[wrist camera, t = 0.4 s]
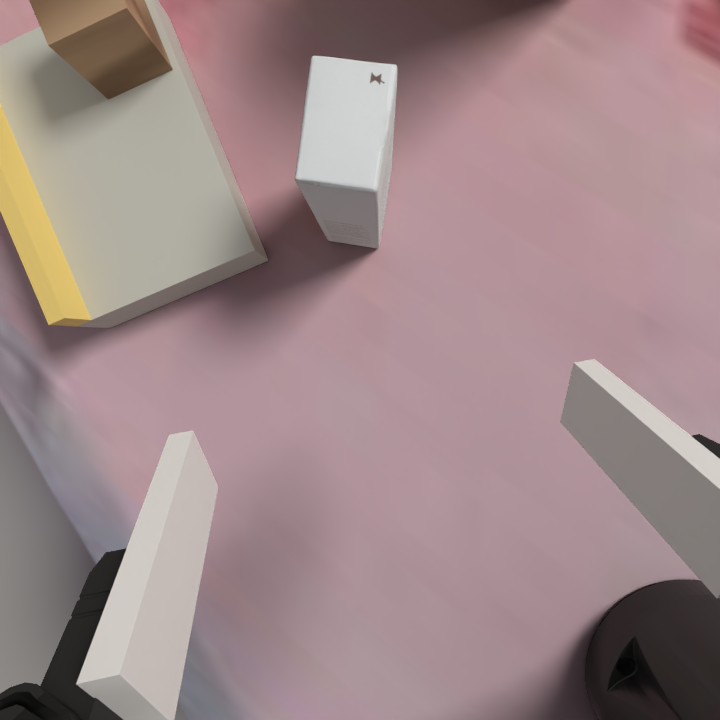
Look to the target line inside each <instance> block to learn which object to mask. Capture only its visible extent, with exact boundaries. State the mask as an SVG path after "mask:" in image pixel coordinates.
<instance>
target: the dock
mask: <svg viewBox="0 0 720 720" xmlns="http://www.w3.org/2000/svg"><path fill="white" fill-rule="evenodd" d="M145 2H146V5H147V7H148V10H149V12H150V15H151V17H152V19H153V22H154V24H155V27H156V29H157V32H158V34H159V37H160V39H161V41H162V44H163V46H164V49H165V51H166V54H167V56H168V59H169V61H170V63H171V66H172V68H173V70H171V71H169V72H167V73H165V74H163V75H161V76H158V77H156V78H154V79H152V80H150V81H148V82H146V83H143V84H141V85H139V86H137V87H135V88H133V89H130V90H128V91H126V92H124V93H122V94H120V95H118V96H115V97H113V98H111V99H109V100H108V99H107V98H106V97H105V96H104V95H103V94H102V93H100V92H99V91H98V90H97V89H96V88H95V87H94V86H93V85H92V84H90V83H89V82H88V81H87V80H86V79H85V78H84V77H83V76H82V75H80V74H79V73H78V72H77V71H76V70H75V69H74V68H73V67H72V66H71V65H69V64H68V63H67V62H66V61H65V60H64V59H63V58H62V57H61V56H59V55H58V54H57V53H56V52H55V51H54V50H53V49H52V48H51V47H49V46H48V44H47V41H46V39H45V36H44V34H43V32H42V29H41V27H38V28H36V29H34V30H31V31H29V32H27V33H25V34H23V35H21V36H19V37H17V38H15V39H13V40H11V41H9V42H7V43H5V44H2V45H0V212H1V214H2V216H3V219H4V221H5V223H6V226H7V228H8V230H9V233H10V235H11V238H12V240H13V242H14V245H15V247H16V249H17V252H18V254H19V256H20V259H21V261H22V263H23V266H24V268H25V271H26V273H27V275H28V278H29V280H30V282H31V285H32V287H33V289H34V292H35V294H36V296H37V299H38V301H39V304H40V306H41V308H42V311H43V313H44V315H45V318H46V320H47V322H48V325H59V326H77V327H96V328H112V327H114V326H116V325H119V324H121V323H123V322H126V321H128V320H130V319H133V318H135V317H138V316H140V315H142V314H145V313H147V312H149V311H152V310H154V309H156V308H159V307H161V306H163V305H166V304H168V303H170V302H173V301H175V300H177V299H180V298H182V297H185V296H187V295H189V294H192V293H194V292H196V291H199V290H201V289H203V288H206V287H208V286H210V285H213V284H215V283H217V282H220V281H222V280H224V279H227V278H229V277H231V276H234V275H236V274H239V273H241V272H243V271H246V270H248V269H250V268H253V267H255V266H257V265H260V264H262V263H264V262H267V261H269V260H268V258H267V255H266V253H265V250H264V248H263V246H262V243H261V241H260V238H259V236H258V233H257V231H256V228H255V226H254V224H253V221H252V219H251V216H250V214H249V211H248V209H247V206H246V204H245V202H244V199H243V197H242V194H241V192H240V189H239V187H238V184H237V182H236V179H235V177H234V175H233V172H232V170H231V167H230V165H229V162H228V160H227V157H226V155H225V153H224V150H223V148H222V145H221V143H220V140H219V138H218V135H217V133H216V130H215V128H214V126H213V123H212V121H211V118H210V116H209V113H208V111H207V108H206V106H205V104H204V101H203V99H202V96H201V94H200V91H199V89H198V86H197V84H196V82H195V79H194V77H193V74H192V72H191V69H190V67H189V64H188V62H187V59H186V57H185V55H184V52H183V50H182V47H181V45H180V42H179V40H178V37H177V35H176V33H175V30H174V28H173V25H172V23H171V20H170V18H169V17H168V15H167V14H166V12H165V10H164V9H163V7H162V6H161V4H160V3H159V1H158V0H145Z"/></svg>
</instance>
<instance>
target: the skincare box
mask: <svg viewBox="0 0 720 720" xmlns="http://www.w3.org/2000/svg"><path fill="white" fill-rule="evenodd" d="M396 93H397V66H396V65H395V64H384V63H374V62H366V61H357V60H350V59H342V58H334V57H325V56H312V58H311V64H310V70H309V77H308V84H307V90H306V97H305V105H304V113H303V122H302V130H301V138H300V145H299V152H298V160H297V167H296V174H295V181H296V183H297V185H298V186H299V188H300V190H301V192H302V194H303V196H304V197H305V199H306V201H307V203H308V205H309V207H310V209H311V210H312V212H313V214H314V216H315V218H316V220H317V222H318V223H319V225H320V227H321V229H322V231H323V233H324V235H325V236H326V238H327V240H328V241H331V242H340V243H346V244H352V245H358V246H364V247H371V248H379V246H380V241H381V235H382V229H383V223H384V217H385V211H386V205H387V198H388V191H389V184H390V178H391V171H392V154H393V136H394V121H395V105H396Z"/></svg>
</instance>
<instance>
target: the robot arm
mask: <svg viewBox="0 0 720 720" xmlns="http://www.w3.org/2000/svg"><path fill="white" fill-rule="evenodd" d="M560 422H561V423H562V424H563V426H564V427H565V428H566V429H567V430H568V431H569V432H570V433H571V435H572V436H573V437H574V438H575V439H576V440H577V441H578V442H579V444H580V445H581V446H582V447H583V448H584V449H585V450H586V452H587V453H588V454H589V455H590V456H591V457H592V458H593V459H594V461H595V462H596V463H597V464H598V465H599V466H600V467H601V468H602V470H603V471H604V472H605V473H606V474H607V475H608V476H609V477H610V479H611V480H612V481H613V482H614V483H615V484H616V485H617V486H618V488H619V489H620V490H621V491H622V492H623V493H624V494H625V495H626V497H627V498H628V499H629V500H630V501H631V502H632V503H633V505H634V506H635V507H636V508H637V509H638V510H639V511H640V512H641V514H642V515H643V516H644V517H645V518H646V519H647V520H648V521H649V523H650V524H651V525H652V526H653V527H654V528H655V529H656V530H657V532H658V533H659V534H660V535H661V536H662V537H663V538H664V539H665V541H666V542H667V543H668V544H669V545H670V546H671V547H672V549H673V550H674V551H675V552H676V553H677V554H678V555H679V556H680V558H681V559H682V560H683V561H684V562H685V563H686V564H687V565H688V567H689V568H690V569H691V570H692V571H693V572H694V573H695V574H696V576H697V577H698V578H699V579H700V580H701V581H699V580H673V581H666V582H662V583H658V584H654V585H651V586H648V587H646V588H643V589H641V590H639V591H637V592H635V593H633V594H632V595H630V596H629V597H627V598H626V599H624V600H623V601H622V602H620V603H619V604H618V605H617V606H616V607H614V608H613V609H612V610H611V612H610V613H609V614H608V615H607V616H606V617H605V618H604V620H603V621H602V623H601V624H600V626H599V627H598V629H597V631H596V633H595V635H594V637H593V639H592V642H591V644H590V647H589V651H588V655H587V661H586V686H587V691H588V695H589V699H590V702H591V705H592V707H593V709H594V712H595V714H596V715H597V717H598V719H599V720H720V444H718V443H716V442H714V441H712V440H710V439H708V438H706V437H704V436H702V435H700V434H698V435H693V436H690V435H689V434H688V433H687V432H685V431H684V430H683V429H682V428H680V427H679V426H678V425H677V424H675V423H674V422H673V421H672V420H670V419H669V418H668V417H667V416H665V415H664V414H663V413H662V412H660V411H659V410H658V409H657V408H655V407H654V406H653V405H652V404H650V403H649V402H648V401H647V400H645V399H644V398H643V397H642V396H640V395H639V394H638V393H636V392H635V391H634V390H633V389H631V388H630V387H629V386H628V385H626V384H625V383H624V382H623V381H621V380H620V379H619V378H618V377H616V376H615V375H614V374H613V373H611V372H610V371H609V370H608V369H606V368H605V367H604V366H603V365H601V364H600V363H599V362H598V361H596V360H595V359H592V360H586V361H581V362H575V363H574V365H573V369H572V373H571V378H570V382H569V386H568V391H567V395H566V399H565V403H564V408H563V412H562V416H561V421H560ZM217 491H218V485H217V483H216V481H215V478H214V476H213V474H212V472H211V469H210V467H209V465H208V463H207V461H206V458H205V456H204V454H203V452H202V449H201V447H200V445H199V443H198V440H197V438H196V436H195V434H194V431H188V432H182V433H177V434H171V435H169V436H168V439H167V442H166V444H165V447H164V450H163V453H162V455H161V458H160V461H159V463H158V466H157V469H156V471H155V474H154V477H153V479H152V482H151V485H150V487H149V490H148V493H147V495H146V498H145V501H144V503H143V506H142V509H141V511H140V514H139V517H138V520H137V522H136V525H135V528H134V530H133V533H132V536H131V538H130V541H129V544H128V546H127V549H122V550H117V551H111V552H106V553H105V554H104V556H103V557H102V558H101V560H100V561H99V562H98V563H97V565H96V566H95V567H94V568H93V570H92V571H91V572H90V573H89V576H88V578H87V580H86V582H85V585H84V587H83V589H82V592H81V594H80V600H79V601H77V603H76V606H75V608H74V610H73V612H72V615H71V616H72V618H71V620H69V622H68V624H67V626H66V629H65V631H64V633H63V635H62V638H61V640H60V642H59V645H58V647H57V649H56V652H55V654H54V656H53V658H52V661H51V663H50V666H49V668H48V670H47V672H46V675H45V677H44V679H43V682H42V684H41V686H39V685H37V684H32V683H23V684H19V685H16V686H13V687H10V688H9V689H7V690H5V691H4V692H2V693H1V694H0V720H174V719H175V713H176V708H177V703H178V697H179V692H180V687H181V681H182V676H183V671H184V666H185V660H186V655H187V650H188V644H189V639H190V634H191V628H192V623H193V618H194V613H195V607H196V602H197V597H198V591H199V586H200V581H201V575H202V570H203V565H204V560H205V554H206V549H207V544H208V538H209V533H210V528H211V522H212V517H213V512H214V507H215V501H216V496H217Z"/></svg>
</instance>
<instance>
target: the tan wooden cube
mask: <svg viewBox="0 0 720 720" xmlns="http://www.w3.org/2000/svg"><path fill="white" fill-rule="evenodd" d="M30 3H31V5H32V8H33V10H34V12H35V15H36V17H37V20H38V22H39V24H40V27H41V29H42V32H43V34H44V36H45V39H46V41H47V44H48V46H49V47H51V48H52V49H53V50H54V51H55V52H56V53H57V54H58V55H59V56H61V57H62V58H63V59H64V60H65V61H66V62H67V63H68V64H69V65H71V66H72V67H73V68H74V69H75V70H76V71H77V72H78V73H79V74H80V75H82V76H83V77H84V78H85V79H86V80H87V81H88V82H89V83H90V84H92V85H93V86H94V87H95V88H96V89H97V90H98V91H99V92H100V93H102V94H103V95H104V96H105V97H106V98H107V99H108V100H109V99H111V98H113V97H115V96H118V95H120V94H122V93H124V92H126V91H128V90H130V89H133V88H135V87H137V86H139V85H141V84H143V83H146V82H148V81H150V80H152V79H154V78H156V77H158V76H161V75H163V74H165V73H167V72H169V71H171V70H173V68H172V66H171V63H170V61H169V59H168V56H167V54H166V51H165V49H164V46H163V44H162V41H161V39H160V37H159V34H158V32H157V29H156V27H155V24H154V22H153V19H152V17H151V15H150V12H149V10H148V7H147V5H146V2H145V0H30Z"/></svg>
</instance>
